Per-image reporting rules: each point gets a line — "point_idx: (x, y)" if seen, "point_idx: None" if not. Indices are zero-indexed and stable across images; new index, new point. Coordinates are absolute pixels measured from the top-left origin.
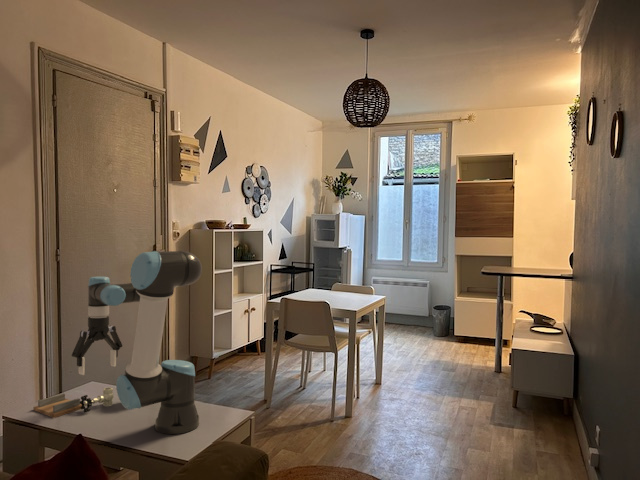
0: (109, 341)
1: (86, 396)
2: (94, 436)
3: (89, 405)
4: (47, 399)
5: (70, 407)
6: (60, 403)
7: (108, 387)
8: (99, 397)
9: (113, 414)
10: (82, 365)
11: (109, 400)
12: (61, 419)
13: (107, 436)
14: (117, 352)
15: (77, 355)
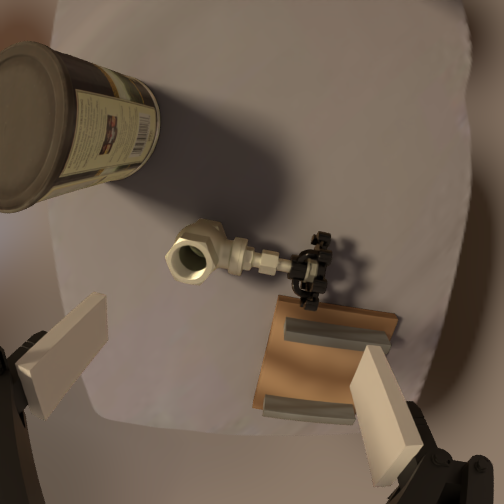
0: (22, 490)
1: (321, 279)
2: (464, 59)
3: (330, 235)
4: (329, 415)
5: (325, 323)
6: (299, 382)
7: (174, 273)
8: (244, 259)
9: (286, 127)
10: (399, 399)
11: (211, 225)
12: (400, 280)
13: (445, 20)
14: (16, 351)
15: (483, 467)
